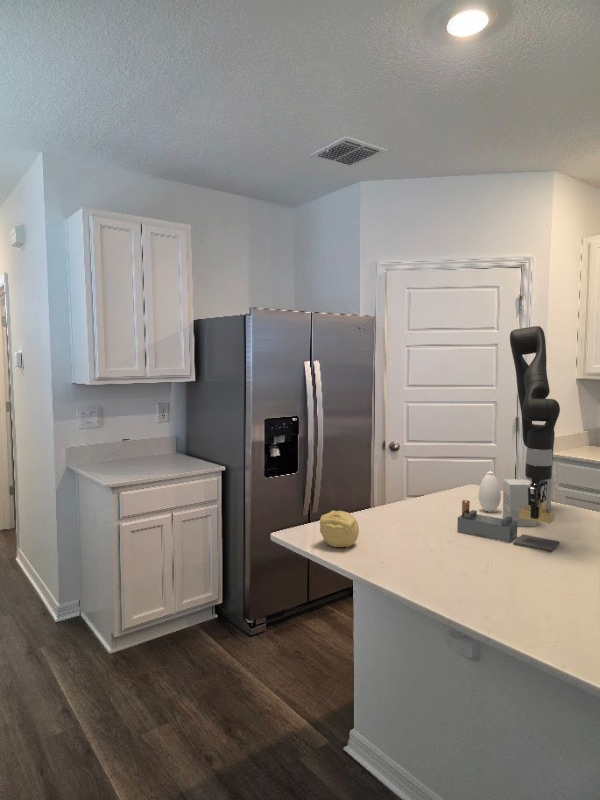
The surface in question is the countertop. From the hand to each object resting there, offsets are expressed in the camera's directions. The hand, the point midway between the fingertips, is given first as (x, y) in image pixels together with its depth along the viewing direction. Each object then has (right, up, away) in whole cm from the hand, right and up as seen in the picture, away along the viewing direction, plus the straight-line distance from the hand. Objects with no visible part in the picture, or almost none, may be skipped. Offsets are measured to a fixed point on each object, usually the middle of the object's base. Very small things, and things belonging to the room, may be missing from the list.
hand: (536, 516), depth 165 cm
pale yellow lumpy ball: (-62, -9, -1) cm, 62 cm away
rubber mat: (0, -9, +1) cm, 9 cm away
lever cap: (0, -1, 0) cm, 1 cm away
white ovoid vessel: (-2, -7, +37) cm, 38 cm away
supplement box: (+4, -8, +23) cm, 25 cm away
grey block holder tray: (-12, -8, +10) cm, 18 cm away
